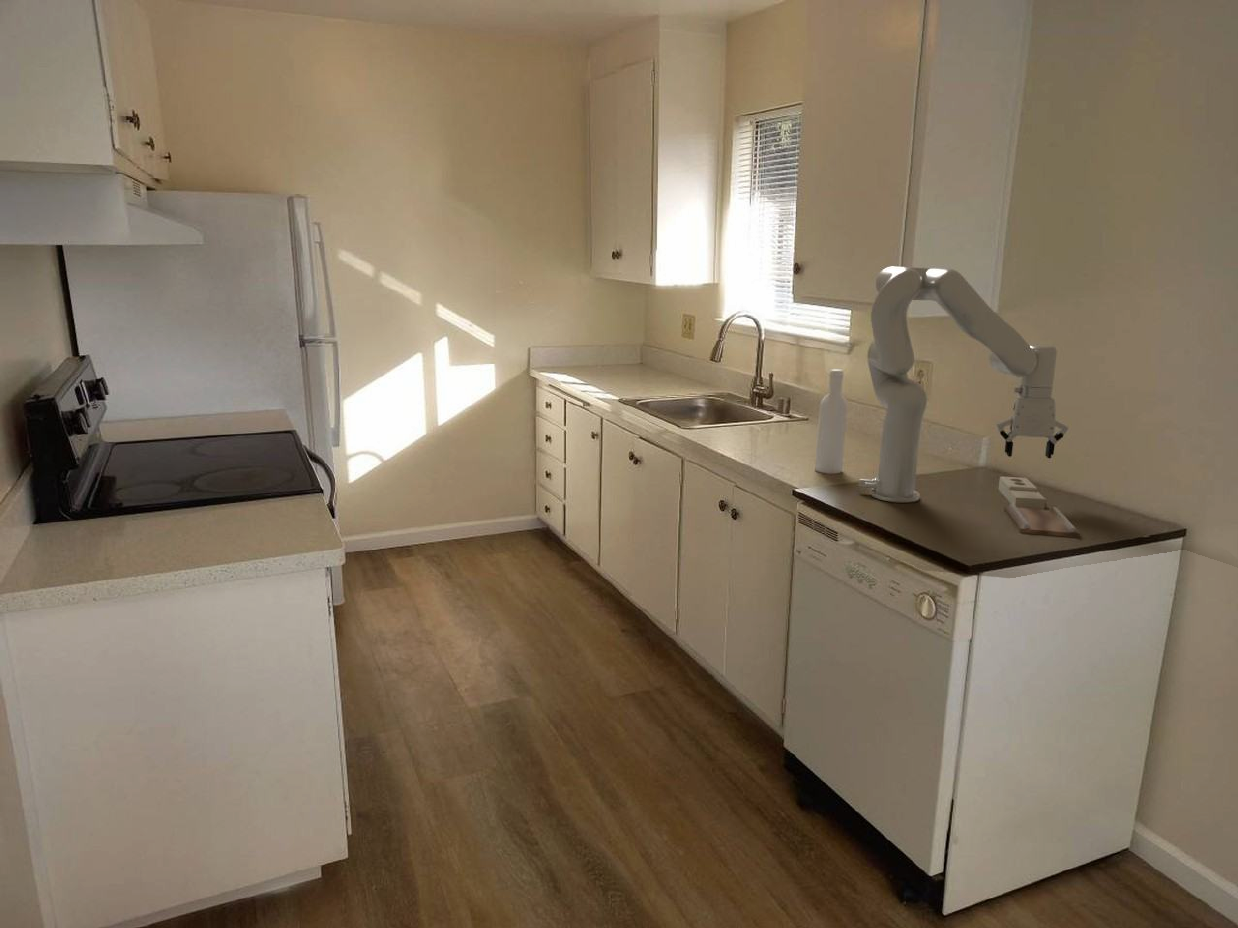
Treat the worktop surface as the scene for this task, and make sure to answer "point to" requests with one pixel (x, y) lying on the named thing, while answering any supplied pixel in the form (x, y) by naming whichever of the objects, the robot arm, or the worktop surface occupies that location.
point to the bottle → (832, 427)
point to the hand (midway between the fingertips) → (1028, 456)
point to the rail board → (1041, 521)
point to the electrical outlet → (1021, 493)
